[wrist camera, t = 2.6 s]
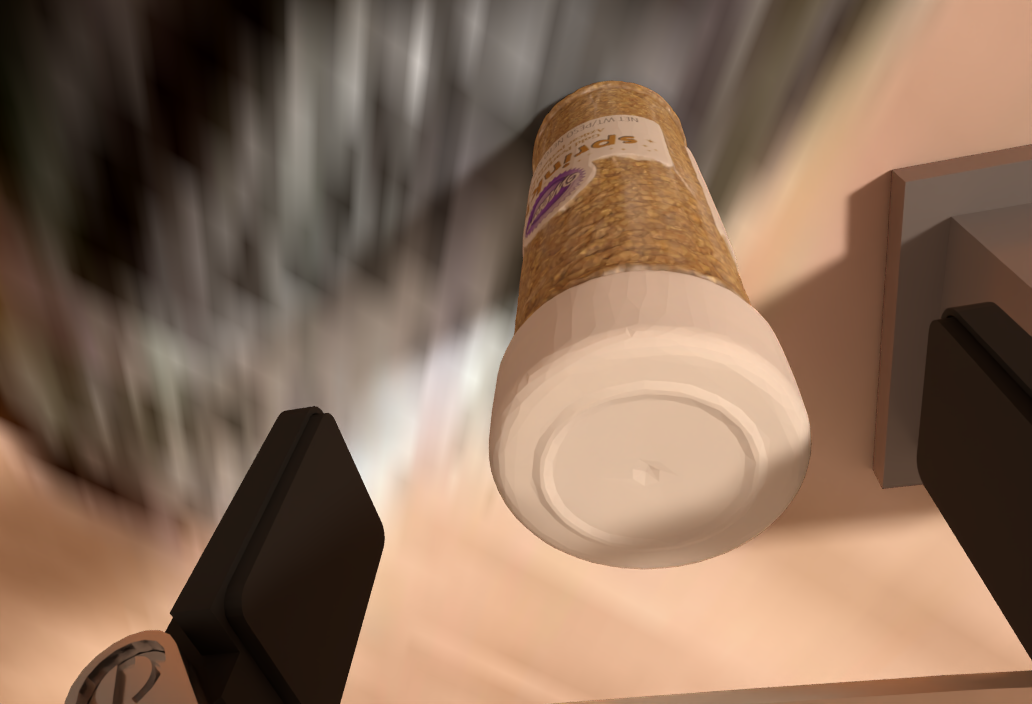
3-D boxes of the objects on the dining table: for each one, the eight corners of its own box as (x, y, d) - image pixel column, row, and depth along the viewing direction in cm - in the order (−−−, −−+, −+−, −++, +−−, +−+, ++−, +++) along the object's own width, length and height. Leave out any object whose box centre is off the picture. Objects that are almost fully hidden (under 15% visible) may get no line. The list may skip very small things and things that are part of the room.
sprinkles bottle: (575, 47, 19) (580, 280, 8) (718, 122, 20) (897, 424, 9) (506, 191, 22) (436, 521, 11) (635, 252, 23) (697, 617, 11)
